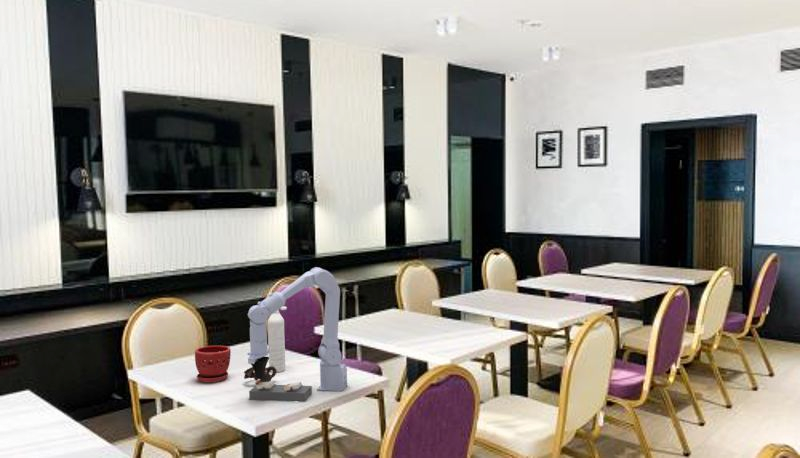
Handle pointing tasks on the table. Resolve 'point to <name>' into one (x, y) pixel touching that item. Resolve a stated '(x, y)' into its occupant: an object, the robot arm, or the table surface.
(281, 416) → the table surface
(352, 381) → the table surface
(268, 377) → the pottery mug
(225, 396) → the table surface
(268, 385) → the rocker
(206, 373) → the plant pot
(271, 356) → the water bottle
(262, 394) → the power strip
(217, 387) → the table surface
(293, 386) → the block
